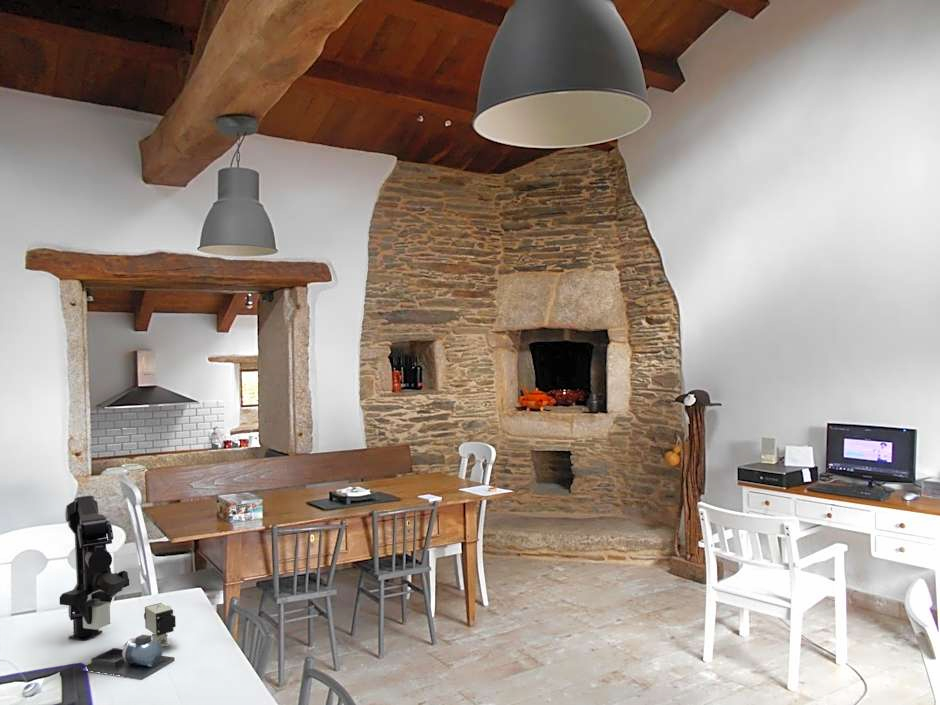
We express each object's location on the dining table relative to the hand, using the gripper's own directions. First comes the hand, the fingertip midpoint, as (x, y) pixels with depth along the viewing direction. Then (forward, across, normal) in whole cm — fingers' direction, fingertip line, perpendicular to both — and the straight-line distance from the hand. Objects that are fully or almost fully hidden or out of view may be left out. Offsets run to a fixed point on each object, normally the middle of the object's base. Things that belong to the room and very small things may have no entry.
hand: (96, 621), depth 202 cm
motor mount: (+11, 0, -10) cm, 15 cm away
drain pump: (+1, 0, 0) cm, 1 cm away
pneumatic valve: (+12, +14, -9) cm, 20 cm away
